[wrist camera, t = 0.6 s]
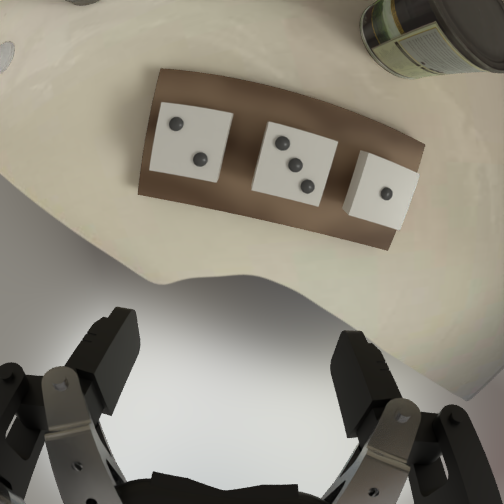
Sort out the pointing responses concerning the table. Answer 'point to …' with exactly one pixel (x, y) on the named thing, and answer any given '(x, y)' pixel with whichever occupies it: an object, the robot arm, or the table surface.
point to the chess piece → (6, 55)
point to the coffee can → (435, 36)
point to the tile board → (248, 147)
